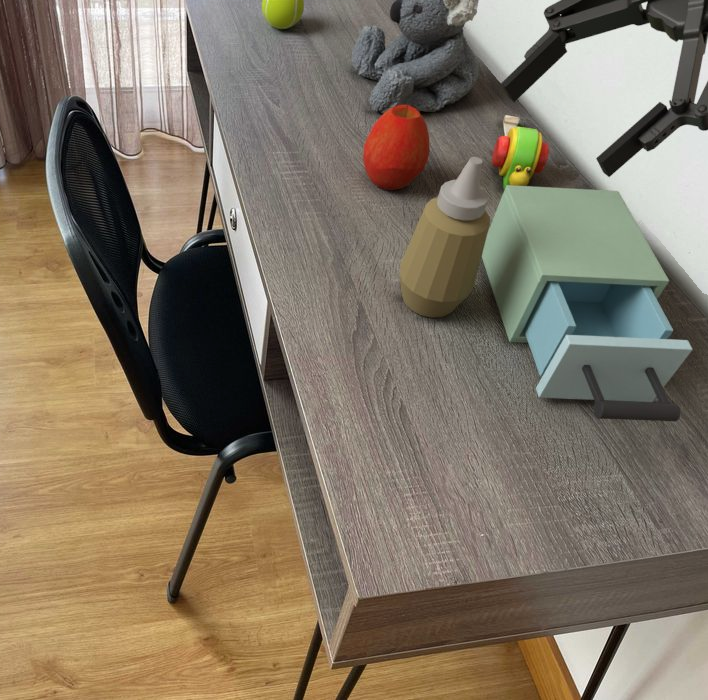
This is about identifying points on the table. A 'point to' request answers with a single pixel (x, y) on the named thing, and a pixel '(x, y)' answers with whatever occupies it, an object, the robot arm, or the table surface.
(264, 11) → the tennis ball
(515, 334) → the cabinet
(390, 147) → the red egg-shaped piece
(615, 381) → the drawer
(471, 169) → the squeeze bottle
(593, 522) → the table surface
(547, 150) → the toy measuring tape
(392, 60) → the koala plush
